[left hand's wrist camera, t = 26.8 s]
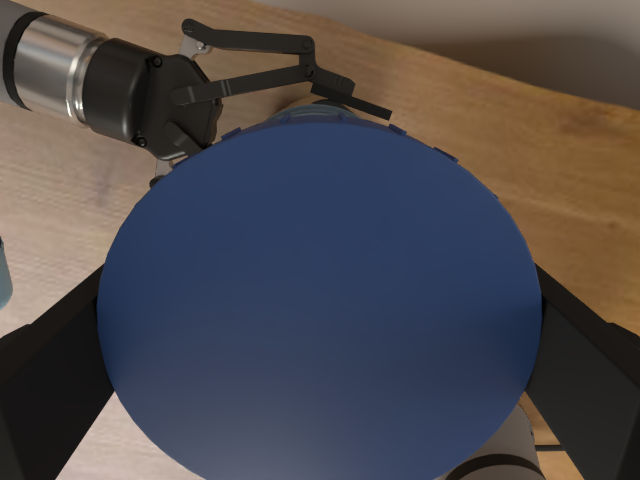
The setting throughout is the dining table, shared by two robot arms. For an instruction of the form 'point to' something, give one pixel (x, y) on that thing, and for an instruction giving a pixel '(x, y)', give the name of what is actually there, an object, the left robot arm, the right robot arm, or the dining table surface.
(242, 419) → the lid
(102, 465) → the dining table surface
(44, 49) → the right robot arm
